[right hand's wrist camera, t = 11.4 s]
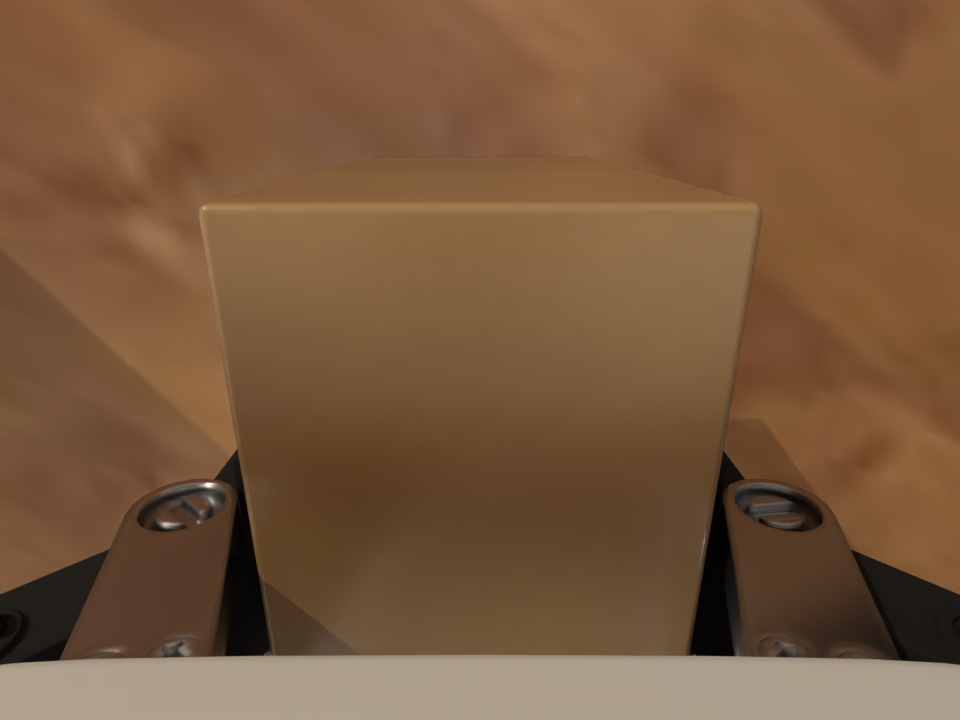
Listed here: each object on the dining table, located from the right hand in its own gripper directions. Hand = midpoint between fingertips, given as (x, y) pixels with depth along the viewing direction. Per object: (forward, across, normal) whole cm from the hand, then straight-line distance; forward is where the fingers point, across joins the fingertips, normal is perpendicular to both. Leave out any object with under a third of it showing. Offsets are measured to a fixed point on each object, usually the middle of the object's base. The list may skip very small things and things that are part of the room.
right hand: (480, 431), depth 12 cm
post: (+4, 0, -25) cm, 25 cm away
